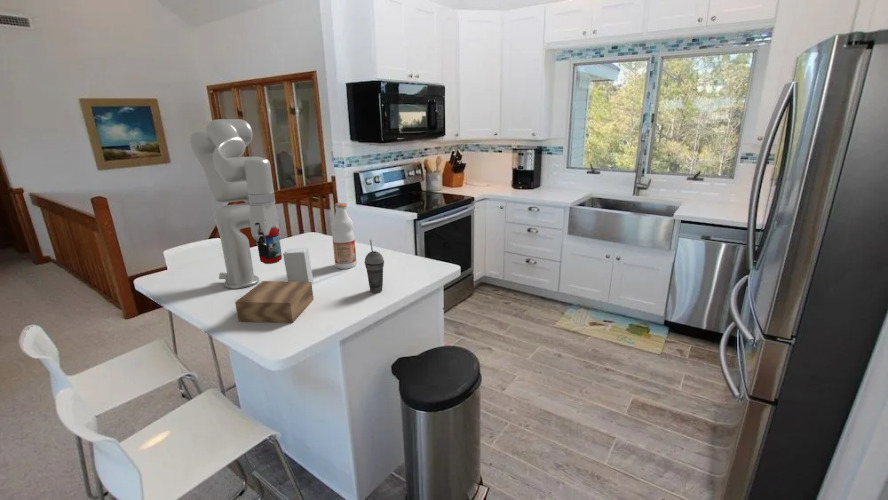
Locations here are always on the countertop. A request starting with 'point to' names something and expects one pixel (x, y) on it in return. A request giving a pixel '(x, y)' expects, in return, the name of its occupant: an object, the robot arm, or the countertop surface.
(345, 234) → the fruit juice
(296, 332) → the countertop surface
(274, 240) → the beverage can
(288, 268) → the skincare box
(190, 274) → the countertop surface
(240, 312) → the walnut block
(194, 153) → the robot arm
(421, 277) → the countertop surface
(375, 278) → the beverage cup
